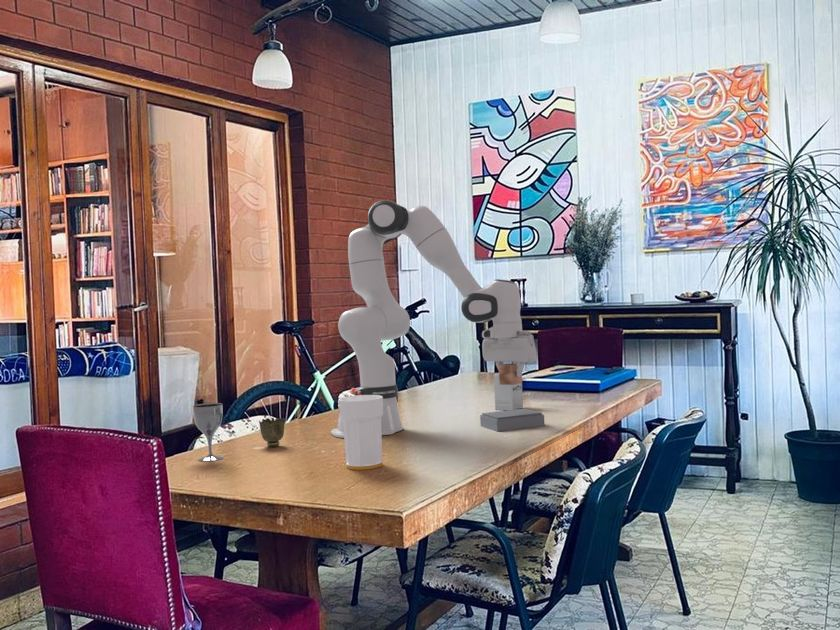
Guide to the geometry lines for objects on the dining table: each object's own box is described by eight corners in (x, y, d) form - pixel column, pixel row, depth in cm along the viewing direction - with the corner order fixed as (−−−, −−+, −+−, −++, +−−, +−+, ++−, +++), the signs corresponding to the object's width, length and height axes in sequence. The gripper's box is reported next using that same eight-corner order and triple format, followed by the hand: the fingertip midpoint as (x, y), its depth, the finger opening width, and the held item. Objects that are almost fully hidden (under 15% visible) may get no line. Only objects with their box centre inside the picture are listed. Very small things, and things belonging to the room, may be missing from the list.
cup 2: (391, 467, 214) (387, 398, 214) (347, 472, 211) (343, 402, 210) (380, 459, 225) (377, 393, 225) (338, 464, 222) (334, 397, 221)
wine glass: (200, 456, 242) (197, 403, 242) (228, 455, 242) (225, 402, 241) (192, 462, 234) (188, 407, 234) (221, 461, 234) (217, 406, 233)
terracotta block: (499, 384, 265) (498, 365, 265) (509, 382, 269) (508, 363, 269) (512, 384, 262) (511, 365, 262) (522, 382, 266) (521, 363, 266)
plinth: (497, 431, 258) (496, 418, 258) (480, 425, 269) (479, 413, 269) (544, 425, 263) (543, 412, 263) (526, 420, 275) (525, 408, 275)
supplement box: (512, 411, 296) (511, 374, 296) (494, 410, 301) (492, 374, 300) (523, 407, 302) (522, 372, 302) (505, 406, 307) (504, 371, 306)
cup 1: (278, 449, 247) (276, 421, 247) (255, 448, 250) (254, 421, 250) (290, 444, 254) (289, 417, 254) (268, 443, 257) (267, 417, 257)
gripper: (539, 330, 259) (542, 376, 260) (492, 331, 275) (495, 374, 275) (525, 332, 255) (528, 378, 256) (478, 332, 271) (480, 376, 271)
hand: (510, 376), depth 266 cm, fingers closed on terracotta block, 5 cm apart
